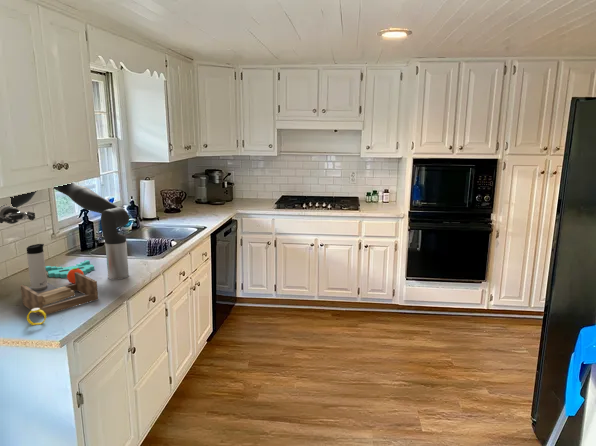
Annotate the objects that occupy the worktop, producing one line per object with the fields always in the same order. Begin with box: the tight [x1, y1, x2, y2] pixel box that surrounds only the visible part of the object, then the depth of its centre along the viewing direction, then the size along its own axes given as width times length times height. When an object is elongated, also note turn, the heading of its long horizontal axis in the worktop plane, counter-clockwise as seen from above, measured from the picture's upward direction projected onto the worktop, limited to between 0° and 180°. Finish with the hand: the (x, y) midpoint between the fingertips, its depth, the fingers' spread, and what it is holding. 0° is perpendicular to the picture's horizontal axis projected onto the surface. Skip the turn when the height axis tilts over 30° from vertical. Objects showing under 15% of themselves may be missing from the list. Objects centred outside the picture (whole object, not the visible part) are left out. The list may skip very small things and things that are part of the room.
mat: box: [27, 282, 58, 293], centre depth 193 cm, size 11×11×1 cm
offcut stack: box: [40, 285, 76, 307], centre depth 182 cm, size 5×13×4 cm, turn 147°
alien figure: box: [45, 259, 95, 279], centre depth 217 cm, size 20×2×20 cm
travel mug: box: [26, 243, 48, 291], centre depth 191 cm, size 6×7×20 cm
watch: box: [26, 308, 47, 326], centre depth 159 cm, size 6×3×6 cm, turn 104°
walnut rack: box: [20, 272, 99, 317], centre depth 179 cm, size 18×22×8 cm
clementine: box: [66, 268, 85, 284], centre depth 201 cm, size 8×7×7 cm
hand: (22, 219), depth 193 cm, fingers open, 8 cm apart
